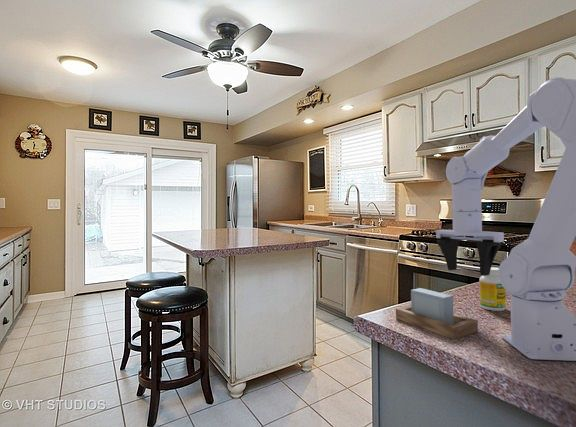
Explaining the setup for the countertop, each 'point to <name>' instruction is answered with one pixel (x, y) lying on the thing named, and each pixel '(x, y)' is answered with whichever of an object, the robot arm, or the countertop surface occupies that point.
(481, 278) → the supplement bottle
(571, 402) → the countertop surface
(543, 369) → the countertop surface
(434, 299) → the grey rectangular block
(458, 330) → the wooden tray
